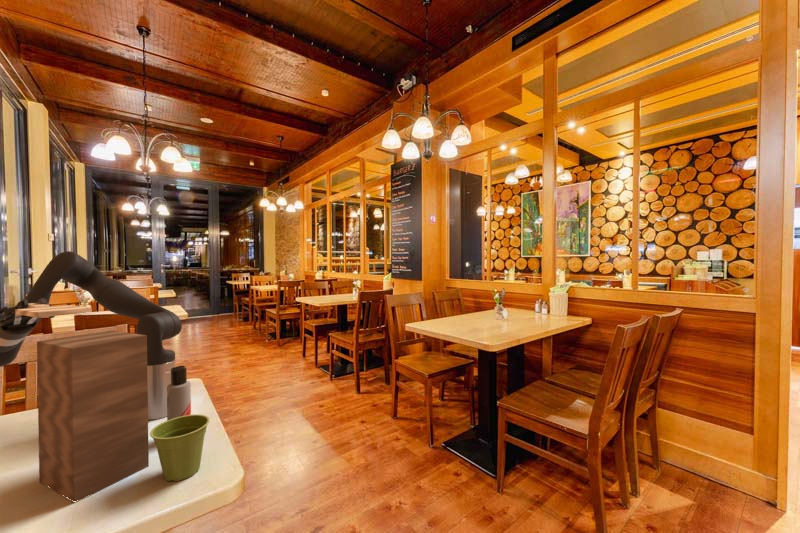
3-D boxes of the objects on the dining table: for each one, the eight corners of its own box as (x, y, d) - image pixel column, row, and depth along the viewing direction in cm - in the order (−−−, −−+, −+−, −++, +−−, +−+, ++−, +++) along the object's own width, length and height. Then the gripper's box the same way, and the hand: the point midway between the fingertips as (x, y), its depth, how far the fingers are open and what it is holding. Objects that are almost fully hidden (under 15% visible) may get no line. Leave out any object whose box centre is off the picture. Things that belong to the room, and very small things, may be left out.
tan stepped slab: (-1, 311, 90) (-1, 305, 90) (50, 307, 99) (50, 301, 99) (38, 317, 80) (38, 310, 80) (91, 311, 90) (91, 305, 90)
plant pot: (188, 454, 88) (187, 411, 88) (221, 464, 83) (220, 418, 83) (138, 481, 77) (137, 432, 77) (173, 495, 73) (172, 442, 72)
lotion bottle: (195, 433, 99) (195, 365, 98) (177, 443, 93) (176, 371, 93) (181, 430, 101) (180, 363, 100) (162, 440, 95) (161, 369, 95)
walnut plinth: (39, 482, 77) (36, 341, 77) (112, 451, 90) (111, 330, 89) (74, 503, 70) (72, 348, 70) (148, 466, 83) (146, 335, 83)
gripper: (-28, 320, 93) (-7, 291, 87) (42, 313, 106) (65, 287, 100) (-23, 345, 92) (-1, 317, 85) (48, 335, 104) (72, 310, 98)
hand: (34, 301), depth 92 cm, fingers closed on tan stepped slab, 2 cm apart
